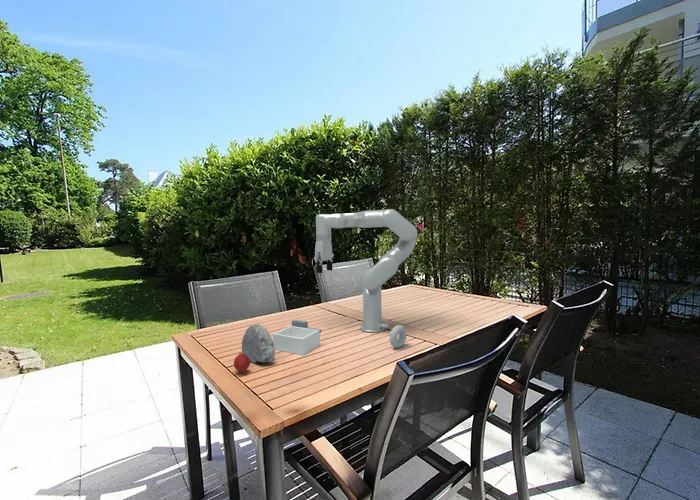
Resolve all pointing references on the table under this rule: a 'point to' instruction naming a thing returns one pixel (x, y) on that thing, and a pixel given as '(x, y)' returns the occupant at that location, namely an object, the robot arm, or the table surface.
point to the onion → (241, 362)
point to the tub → (296, 340)
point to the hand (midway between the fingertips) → (324, 271)
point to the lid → (302, 324)
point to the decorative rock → (258, 344)
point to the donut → (394, 334)
